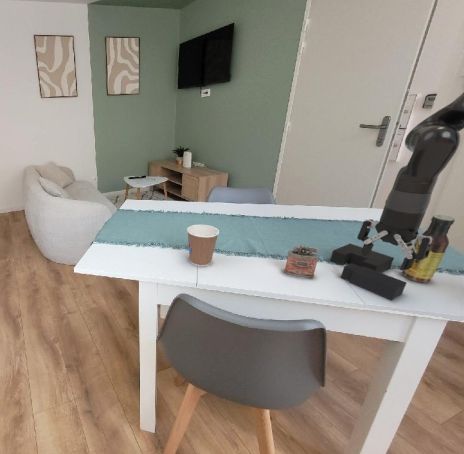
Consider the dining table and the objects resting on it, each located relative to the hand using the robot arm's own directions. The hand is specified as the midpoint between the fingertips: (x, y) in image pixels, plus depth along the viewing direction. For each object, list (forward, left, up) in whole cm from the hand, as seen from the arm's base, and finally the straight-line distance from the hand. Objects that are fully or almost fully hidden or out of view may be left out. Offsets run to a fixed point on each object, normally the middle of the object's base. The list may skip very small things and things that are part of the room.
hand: (383, 262), depth 80 cm
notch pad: (+9, -11, -9) cm, 17 cm away
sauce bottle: (-3, -16, -9) cm, 19 cm away
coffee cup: (+37, +31, -9) cm, 49 cm away
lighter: (+15, +11, -9) cm, 20 cm away
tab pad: (+1, 0, -9) cm, 9 cm away
